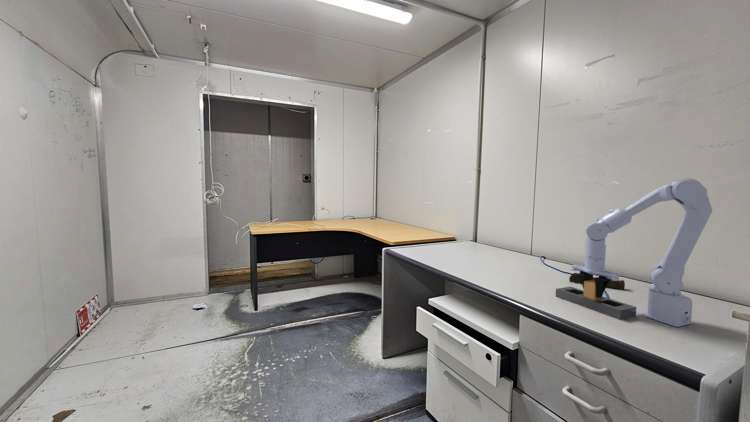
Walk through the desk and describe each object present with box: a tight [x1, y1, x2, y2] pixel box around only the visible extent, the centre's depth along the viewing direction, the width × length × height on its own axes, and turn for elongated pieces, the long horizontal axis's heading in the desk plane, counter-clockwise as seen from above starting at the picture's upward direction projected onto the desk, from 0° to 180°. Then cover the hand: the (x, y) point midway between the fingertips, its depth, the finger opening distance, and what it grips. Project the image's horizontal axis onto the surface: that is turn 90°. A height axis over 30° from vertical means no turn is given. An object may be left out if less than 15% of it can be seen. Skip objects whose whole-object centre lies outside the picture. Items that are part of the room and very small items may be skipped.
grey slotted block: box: [555, 286, 637, 320], centre depth 105 cm, size 22×8×3 cm, turn 21°
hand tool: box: [568, 272, 626, 291], centre depth 128 cm, size 19×4×5 cm, turn 55°
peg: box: [583, 280, 601, 300], centre depth 105 cm, size 4×4×7 cm
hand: (592, 295), depth 105 cm, fingers closed on peg, 3 cm apart
